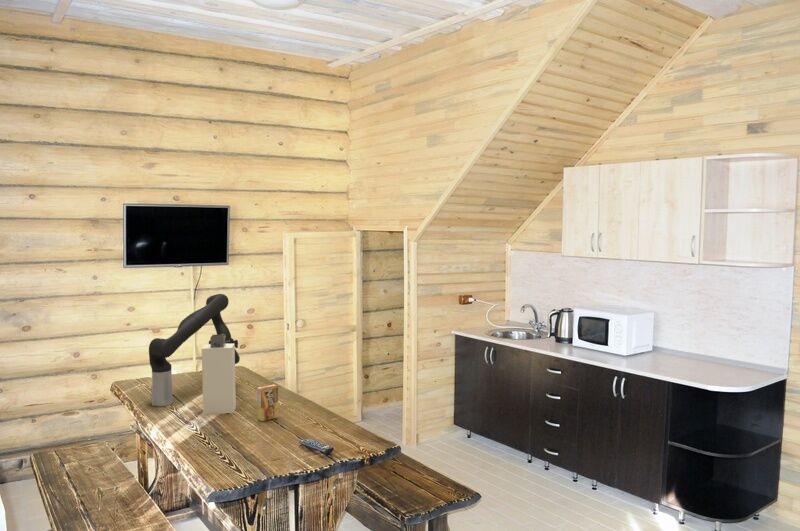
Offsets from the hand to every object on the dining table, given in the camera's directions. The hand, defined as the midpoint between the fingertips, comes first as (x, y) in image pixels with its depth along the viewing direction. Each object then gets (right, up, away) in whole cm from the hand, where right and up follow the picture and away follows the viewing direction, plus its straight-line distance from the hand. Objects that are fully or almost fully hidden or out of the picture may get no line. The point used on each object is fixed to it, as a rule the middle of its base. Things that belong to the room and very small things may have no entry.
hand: (221, 339), depth 317 cm
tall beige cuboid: (+2, -33, -10) cm, 35 cm away
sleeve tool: (+1, -1, -7) cm, 7 cm away
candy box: (+28, -35, -21) cm, 49 cm away
